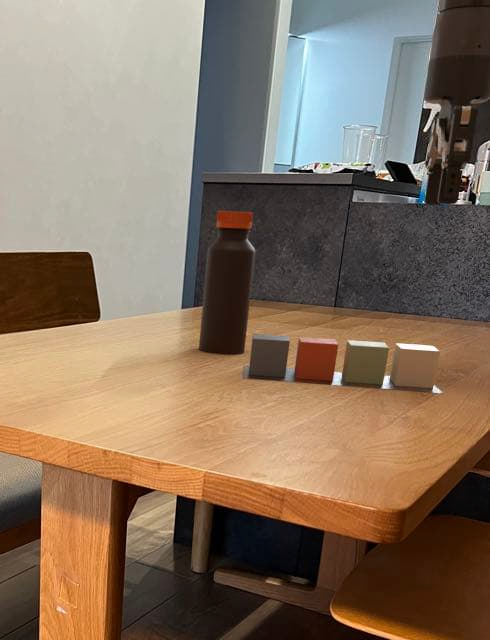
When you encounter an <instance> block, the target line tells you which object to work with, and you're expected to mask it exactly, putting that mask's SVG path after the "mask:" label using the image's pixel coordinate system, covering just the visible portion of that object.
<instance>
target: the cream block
mask: <svg viewBox="0 0 490 640" xmlns="http://www.w3.org/2000/svg"><path fill="white" fill-rule="evenodd" d="M440 355H441V351H440V349H438V348H436V346H434V345H426V344H425V345H424V344H411V343H397V342H396V343H395V345H394V350H393V357H392V363H391V367H390V374H389V376H390V380H391V381H392V383H393V384H394V385H395V386H405V387H419V388H432V389H433V386H434V385H435V381H436V375H437V370H438V365H439V360H440Z"/></svg>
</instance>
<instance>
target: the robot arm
mask: <svg viewBox="0 0 490 640" xmlns="http://www.w3.org/2000/svg"><path fill="white" fill-rule="evenodd" d="M431 37H432V38H431V44H430V50H429V57H428V63H427V71H426V78H425V84H424V92H423V100H424V102H425V103H428V104H430V105H431V104H432V105H439V106H440V110H439V113H438V116H434V117H433V118H432V120H431V123H430V124H431V127H430V134H429V139H428V146H427V153H426V158H425V161H424V168H425V169H426V172H427V173H428V174H427V180H426V186H425V187H426V188H425V192H424V193H425V194H424V200H423V202H424V204H425V205H427V206H431V205H432V206H439V205H440V206H441V205H443V204H444V205H455V204H457V203H458V200H459V195H460V189H461V188H460V187H461V184H462V178H463V177H462V176H463V173H464V172H463V170H465V169H466V167H467V164H469V163H470V161H471V159H472V151H473V145H474V137H475V131H476V124H477V119H478V118H477V117H478V113H479V106H478V105H476V104H482V103H485V102H488V100H489V99H490V0H439V3H438V10H437V16H436V22H435V25H434V28H433V32H432V36H431ZM473 104H475V105H473Z"/></svg>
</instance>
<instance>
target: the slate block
mask: <svg viewBox="0 0 490 640" xmlns="http://www.w3.org/2000/svg"><path fill="white" fill-rule="evenodd" d="M290 341H291V340H290V337H289V335H276V334H262V333H261V334H260V333H253V334H252V338H251V347H250V356H249V365H248V366H249V375H257V376H271V377H284V378H285V375H286V368H288V367H287V366H288V360H289V359H288V358H289V351H290V343H291V342H290Z"/></svg>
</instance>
